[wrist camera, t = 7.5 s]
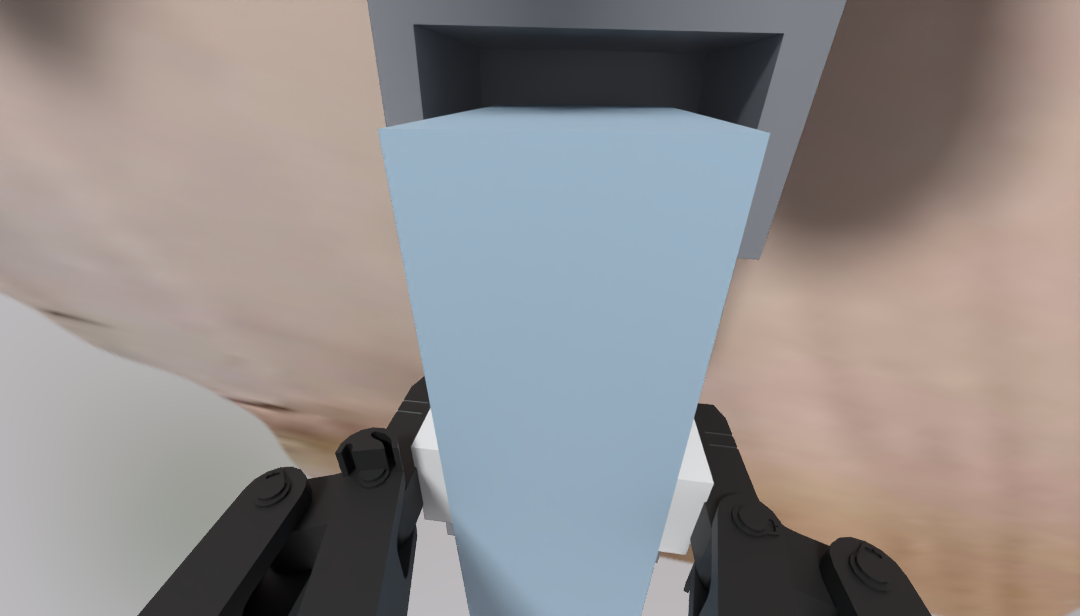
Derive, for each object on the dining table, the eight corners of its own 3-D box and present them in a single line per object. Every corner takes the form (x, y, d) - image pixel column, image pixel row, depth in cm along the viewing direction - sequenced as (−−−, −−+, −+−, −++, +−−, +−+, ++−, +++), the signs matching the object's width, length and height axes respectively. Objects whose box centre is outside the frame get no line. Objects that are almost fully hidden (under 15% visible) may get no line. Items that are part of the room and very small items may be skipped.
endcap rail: (482, 426, 25) (447, 534, 19) (457, 9, 14) (360, -47, 8) (640, 443, 24) (656, 563, 18) (739, 15, 13) (860, -42, 7)
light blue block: (515, 454, 20) (476, 647, 13) (499, 104, 12) (378, 129, 5) (614, 464, 20) (626, 670, 13) (664, 105, 12) (769, 133, 5)
